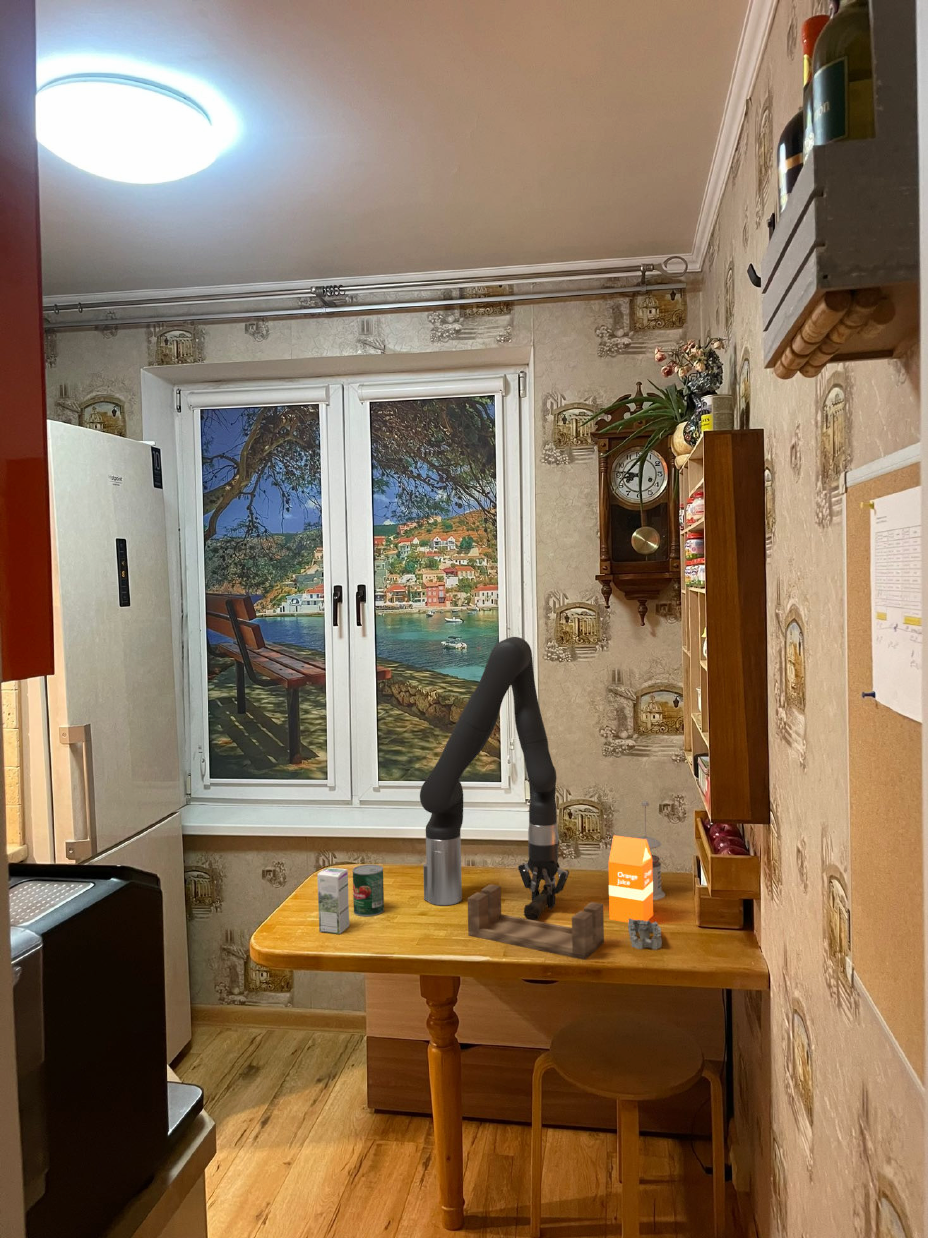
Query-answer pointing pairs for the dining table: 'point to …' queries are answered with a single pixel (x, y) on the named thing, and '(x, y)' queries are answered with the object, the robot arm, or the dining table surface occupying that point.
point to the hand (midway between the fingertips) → (543, 906)
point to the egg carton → (644, 934)
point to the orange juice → (630, 880)
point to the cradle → (535, 927)
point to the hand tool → (537, 905)
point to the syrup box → (333, 900)
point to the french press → (654, 862)
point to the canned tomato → (368, 890)
